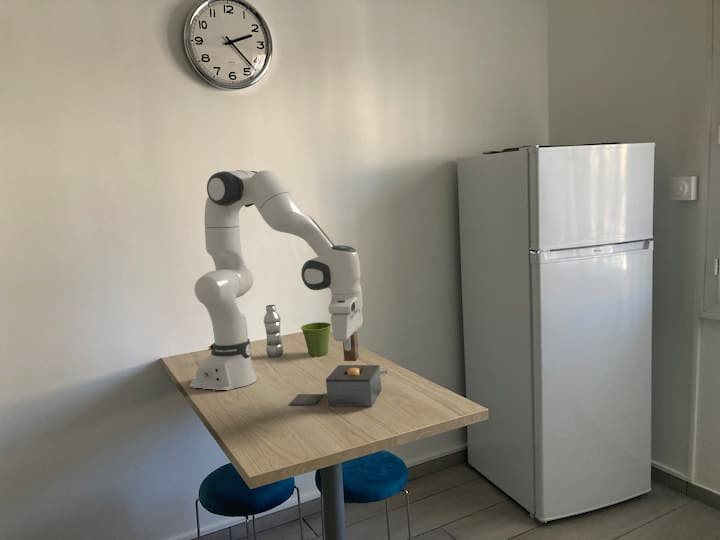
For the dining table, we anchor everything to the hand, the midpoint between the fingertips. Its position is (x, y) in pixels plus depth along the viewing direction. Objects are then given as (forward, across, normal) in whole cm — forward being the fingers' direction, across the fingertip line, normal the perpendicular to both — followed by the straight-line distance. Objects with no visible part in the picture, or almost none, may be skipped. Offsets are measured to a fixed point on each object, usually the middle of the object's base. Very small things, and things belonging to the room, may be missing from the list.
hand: (350, 347), depth 166 cm
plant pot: (+16, -45, -26) cm, 55 cm away
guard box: (+15, 0, 0) cm, 15 cm away
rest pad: (+16, +3, -14) cm, 21 cm away
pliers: (+16, -21, -2) cm, 26 cm away
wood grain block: (+4, 0, 0) cm, 4 cm away
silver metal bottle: (+16, -43, -43) cm, 63 cm away
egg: (+13, 0, 0) cm, 13 cm away
